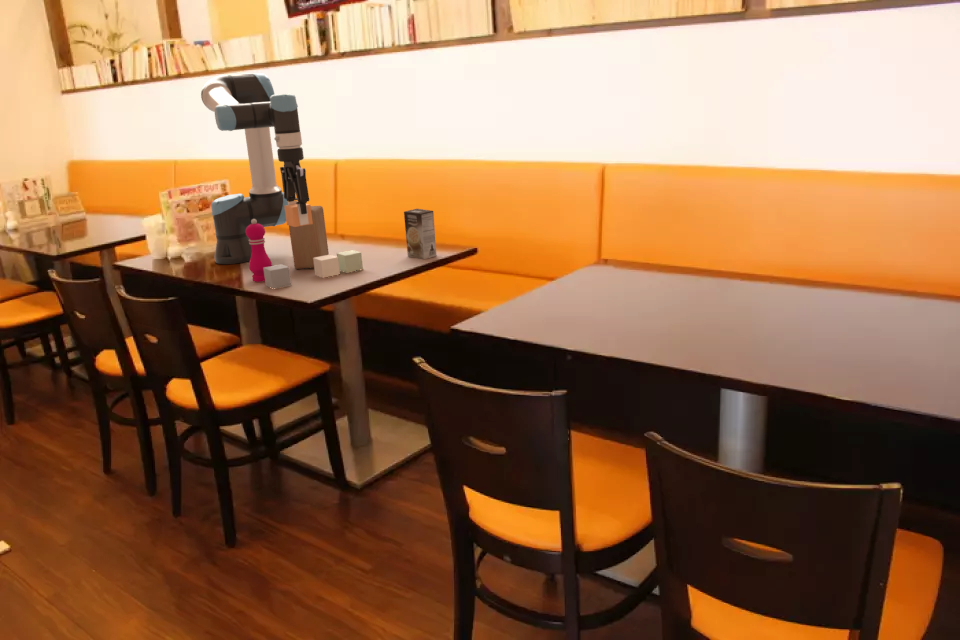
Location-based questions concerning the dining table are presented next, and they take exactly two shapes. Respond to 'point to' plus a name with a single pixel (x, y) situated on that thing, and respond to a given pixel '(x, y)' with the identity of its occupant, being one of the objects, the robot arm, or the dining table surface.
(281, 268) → the grey cube
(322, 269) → the cream cube
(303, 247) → the wooden block
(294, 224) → the orange cube
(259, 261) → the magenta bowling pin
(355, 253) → the sage cube
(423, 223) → the coffee box
